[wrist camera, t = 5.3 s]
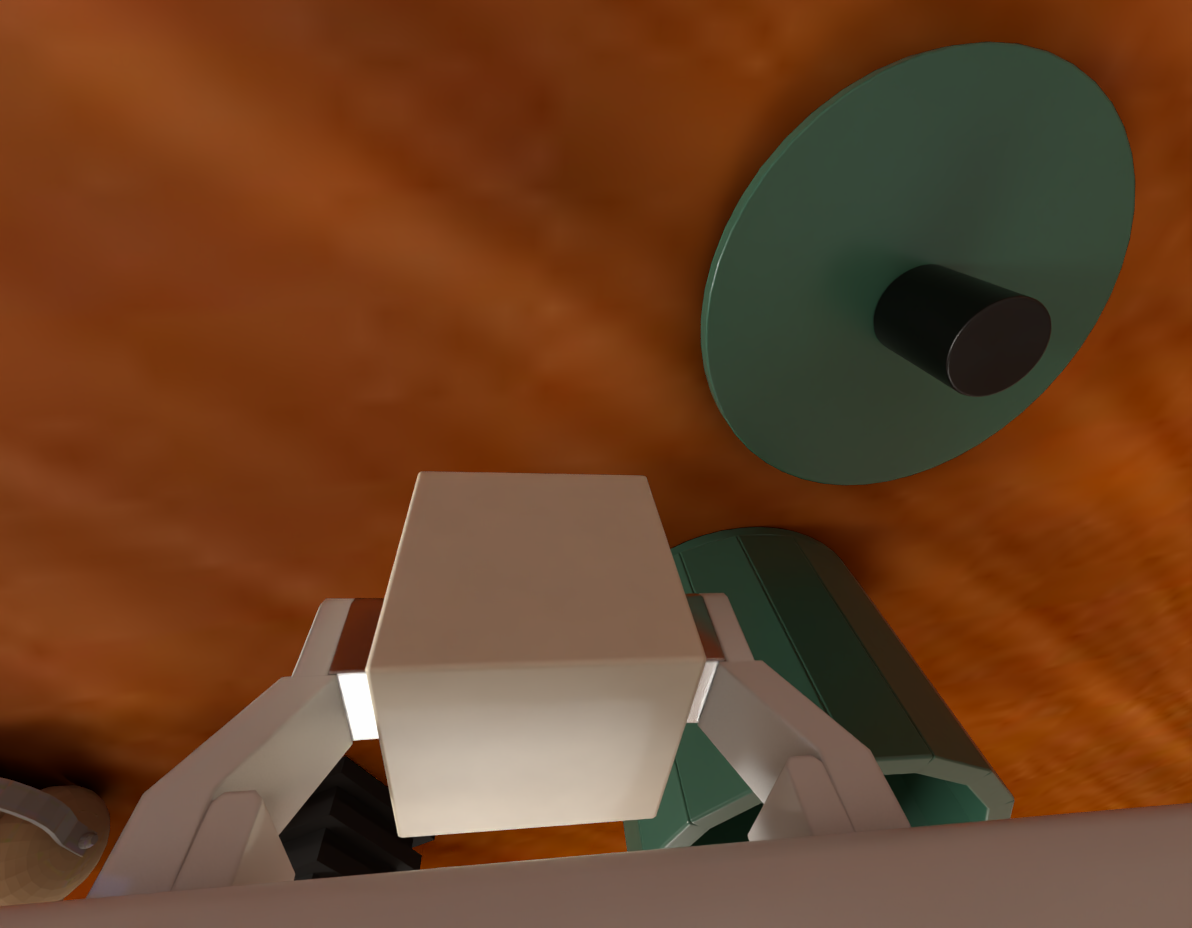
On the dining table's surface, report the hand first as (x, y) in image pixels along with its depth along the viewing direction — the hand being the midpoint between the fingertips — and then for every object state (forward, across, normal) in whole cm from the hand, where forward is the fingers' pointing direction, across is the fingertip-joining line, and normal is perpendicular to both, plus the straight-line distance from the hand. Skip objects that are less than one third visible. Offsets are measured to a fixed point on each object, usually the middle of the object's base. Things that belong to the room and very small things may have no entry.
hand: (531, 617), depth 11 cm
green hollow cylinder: (+9, -9, +11) cm, 17 cm away
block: (+2, 0, 0) cm, 2 cm away
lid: (+8, -11, -4) cm, 15 cm away
